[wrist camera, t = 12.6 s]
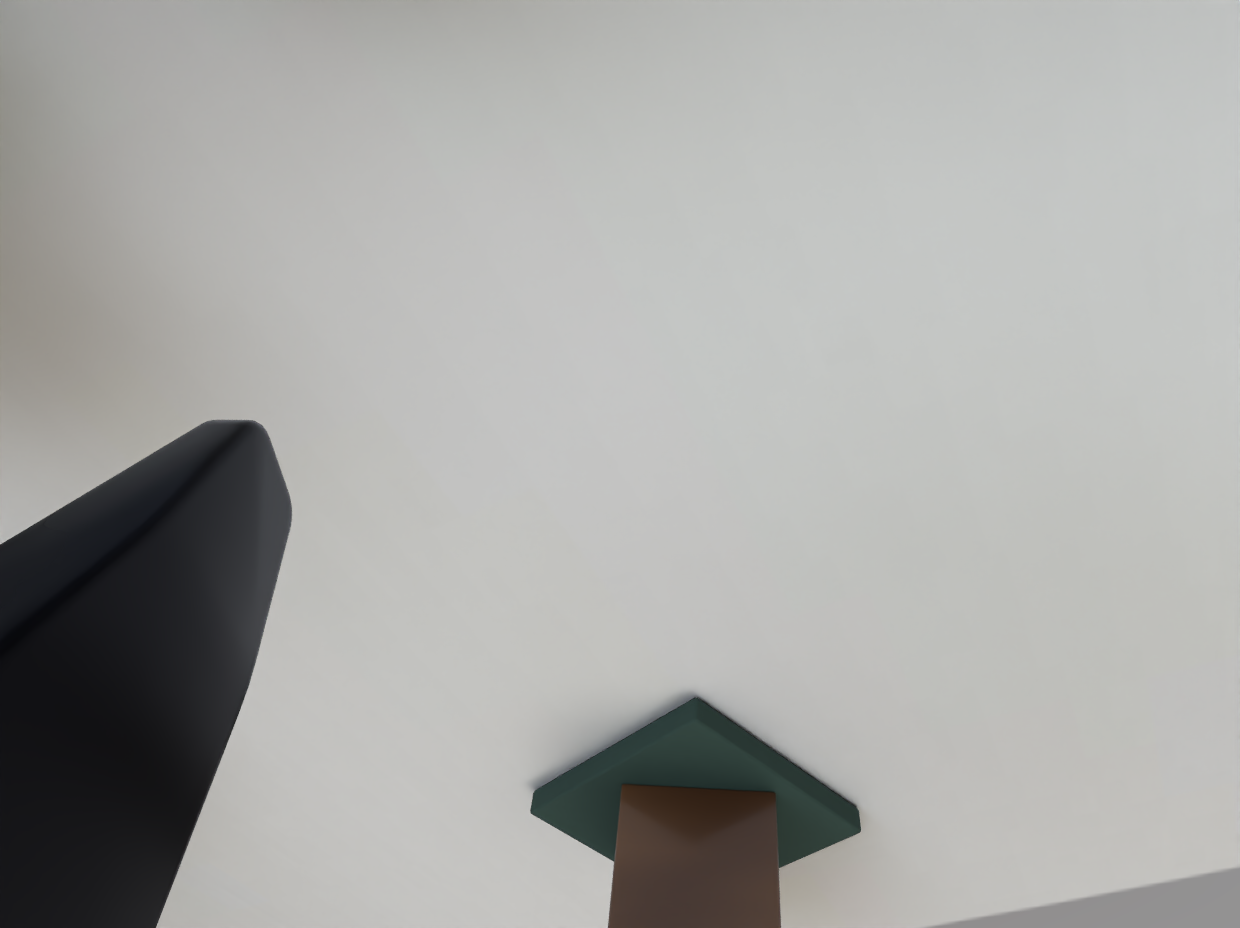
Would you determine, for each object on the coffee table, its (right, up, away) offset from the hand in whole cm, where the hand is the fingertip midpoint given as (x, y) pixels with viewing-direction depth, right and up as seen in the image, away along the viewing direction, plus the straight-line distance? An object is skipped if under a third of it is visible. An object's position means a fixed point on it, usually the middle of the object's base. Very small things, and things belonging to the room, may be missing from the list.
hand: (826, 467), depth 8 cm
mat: (+1, -10, +23) cm, 25 cm away
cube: (+1, -11, +23) cm, 25 cm away
